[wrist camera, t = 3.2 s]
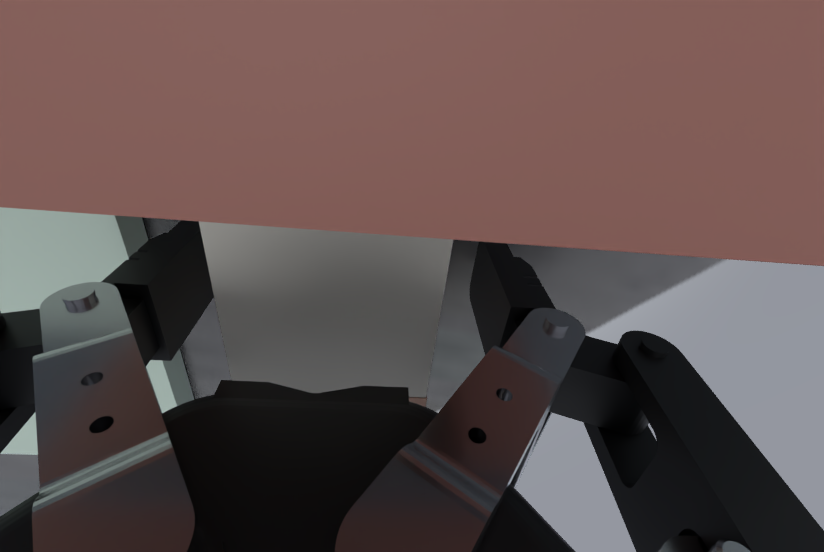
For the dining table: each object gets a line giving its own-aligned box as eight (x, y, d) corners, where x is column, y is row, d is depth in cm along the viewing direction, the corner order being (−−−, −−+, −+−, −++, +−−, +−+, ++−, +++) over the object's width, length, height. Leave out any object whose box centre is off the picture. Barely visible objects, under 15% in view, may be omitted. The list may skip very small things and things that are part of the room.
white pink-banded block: (254, -207, 8) (27, -589, 3) (468, -173, 9) (576, -461, 4) (293, 298, 15) (241, 437, 10) (410, 305, 16) (419, 442, 10)
